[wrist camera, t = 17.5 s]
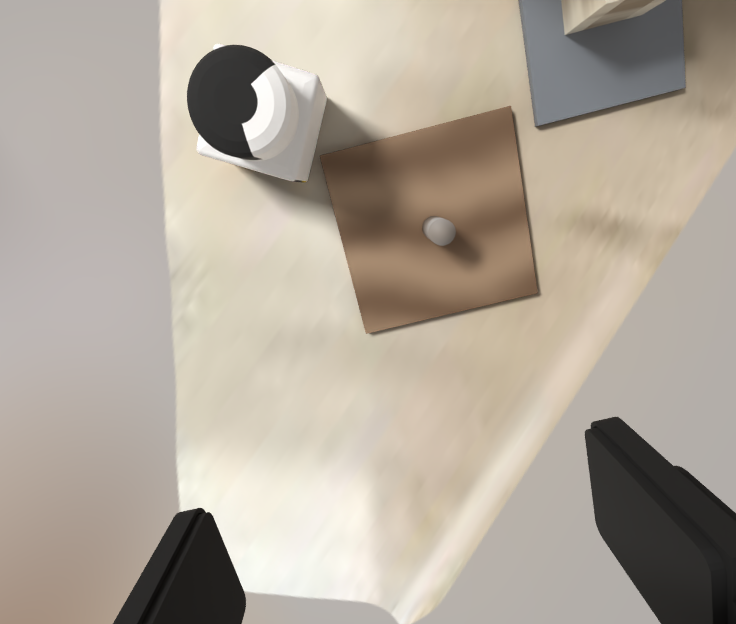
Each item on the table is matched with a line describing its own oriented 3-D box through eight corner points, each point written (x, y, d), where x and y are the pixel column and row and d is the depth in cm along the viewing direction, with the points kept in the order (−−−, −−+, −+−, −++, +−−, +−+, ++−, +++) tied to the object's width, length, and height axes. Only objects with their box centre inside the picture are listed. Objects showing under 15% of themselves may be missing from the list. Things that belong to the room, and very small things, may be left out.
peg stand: (320, 156, 37) (313, 151, 32) (507, 107, 36) (531, 94, 31) (365, 330, 41) (366, 351, 36) (534, 291, 40) (559, 306, 35)
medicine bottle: (225, 159, 37) (163, 146, 25) (242, 69, 35) (183, 11, 24) (307, 183, 38) (283, 181, 26) (328, 96, 36) (311, 52, 24)
